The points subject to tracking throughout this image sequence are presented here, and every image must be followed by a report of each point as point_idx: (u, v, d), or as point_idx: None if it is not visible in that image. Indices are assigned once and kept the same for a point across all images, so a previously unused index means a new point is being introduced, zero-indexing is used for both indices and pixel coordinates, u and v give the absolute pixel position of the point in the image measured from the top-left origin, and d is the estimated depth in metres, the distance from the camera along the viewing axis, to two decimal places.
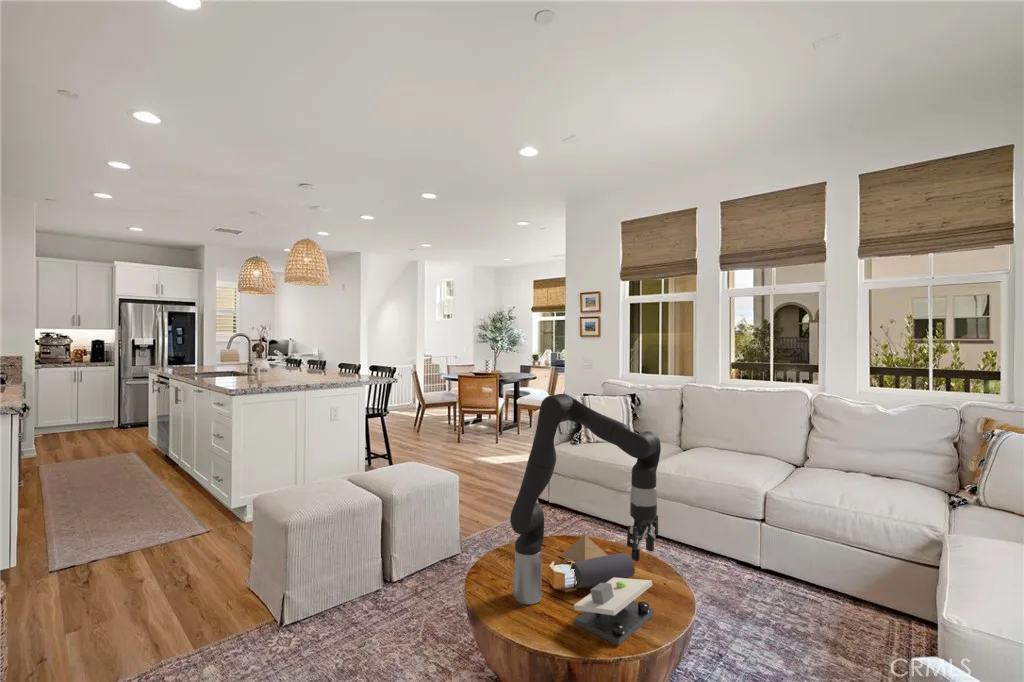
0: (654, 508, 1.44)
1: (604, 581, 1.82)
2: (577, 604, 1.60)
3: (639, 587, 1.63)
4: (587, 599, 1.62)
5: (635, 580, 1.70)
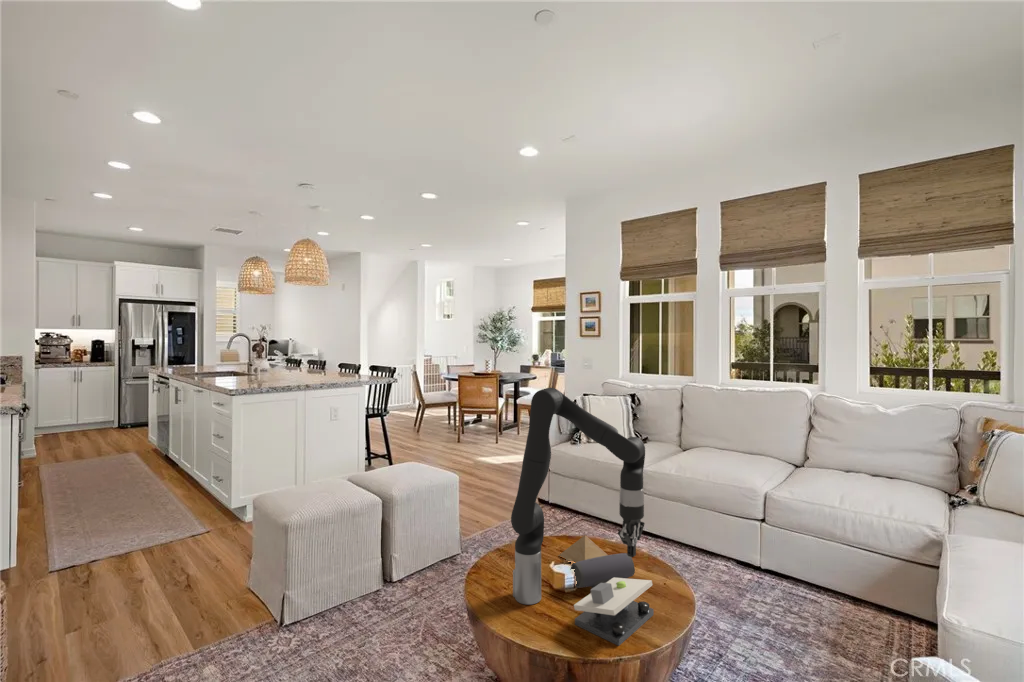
0: (641, 508, 1.56)
1: (604, 581, 1.82)
2: (577, 604, 1.60)
3: (639, 587, 1.63)
4: (587, 599, 1.62)
5: (635, 580, 1.70)
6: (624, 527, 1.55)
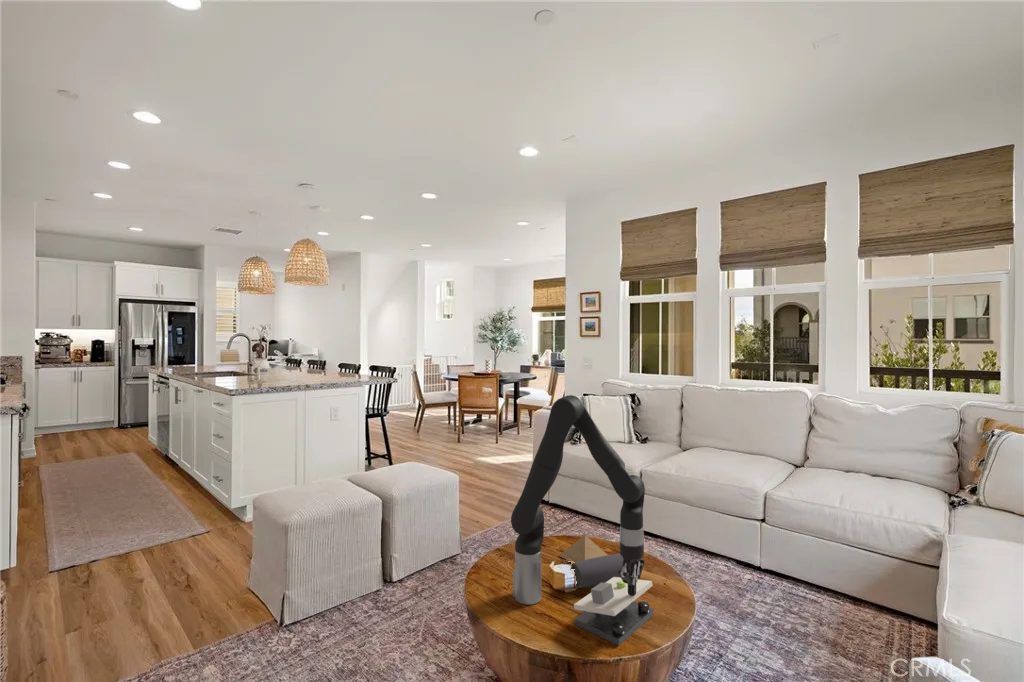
0: (641, 547, 1.56)
1: (604, 581, 1.82)
2: (577, 604, 1.60)
3: (639, 588, 1.63)
4: (587, 599, 1.62)
5: None
6: (624, 566, 1.56)
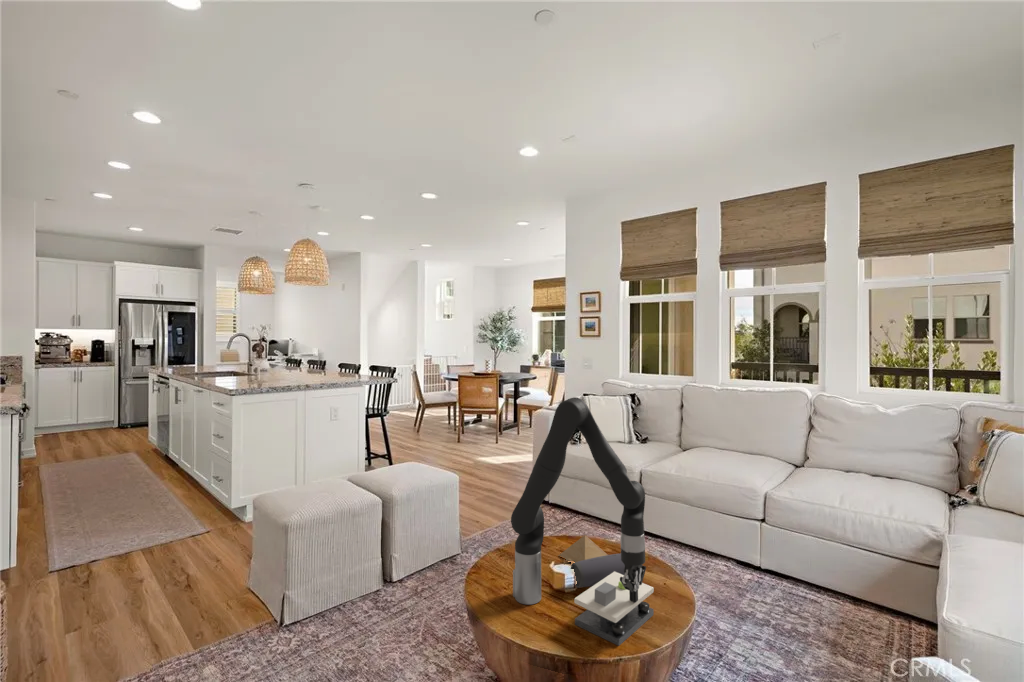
0: (642, 554, 1.56)
1: None
2: (578, 598, 1.59)
3: (641, 594, 1.63)
4: (588, 594, 1.62)
5: None
6: (626, 573, 1.55)
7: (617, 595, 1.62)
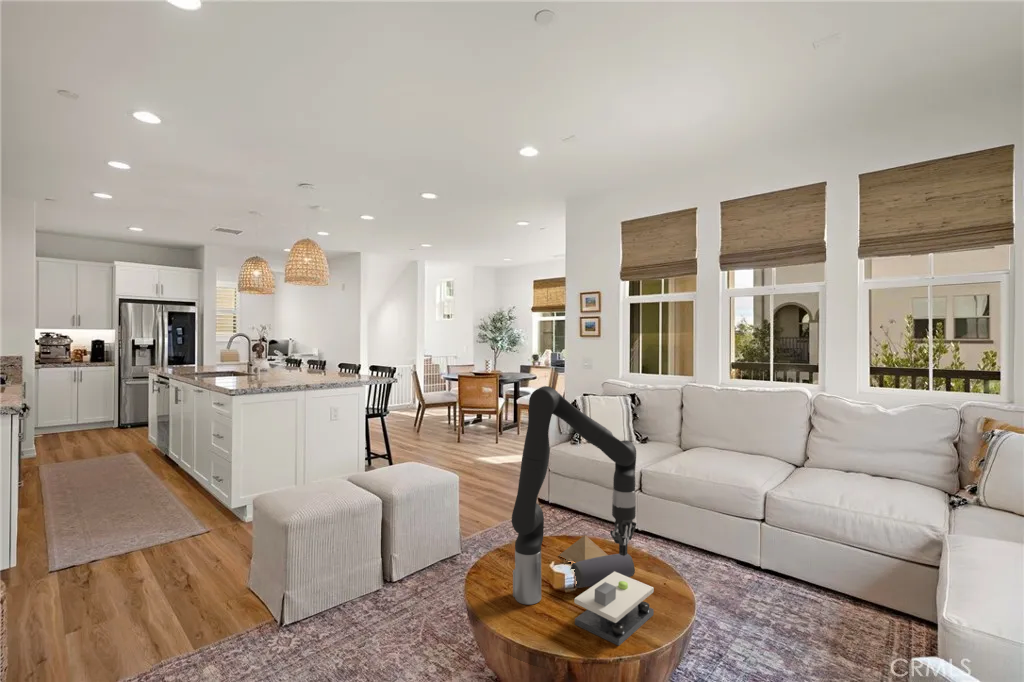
0: (633, 509, 1.62)
1: None
2: (578, 598, 1.59)
3: (641, 594, 1.63)
4: (588, 594, 1.62)
5: (637, 582, 1.70)
6: (616, 527, 1.62)
7: (617, 595, 1.62)
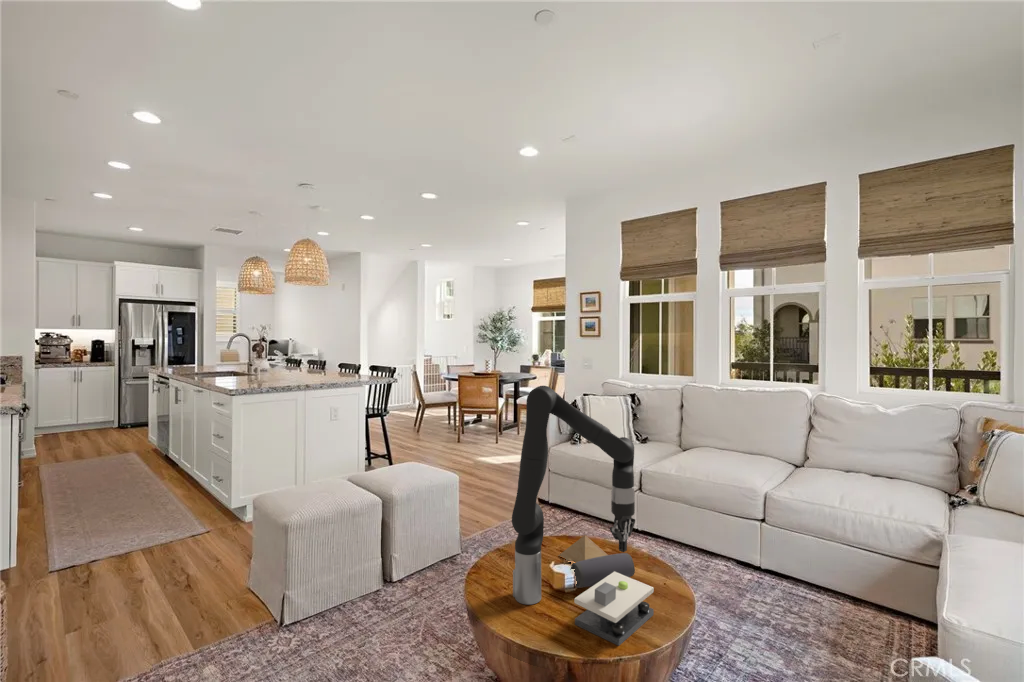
0: (632, 505, 1.63)
1: None
2: (578, 598, 1.59)
3: (641, 594, 1.63)
4: (588, 594, 1.62)
5: (637, 582, 1.70)
6: (615, 523, 1.63)
7: (617, 595, 1.62)
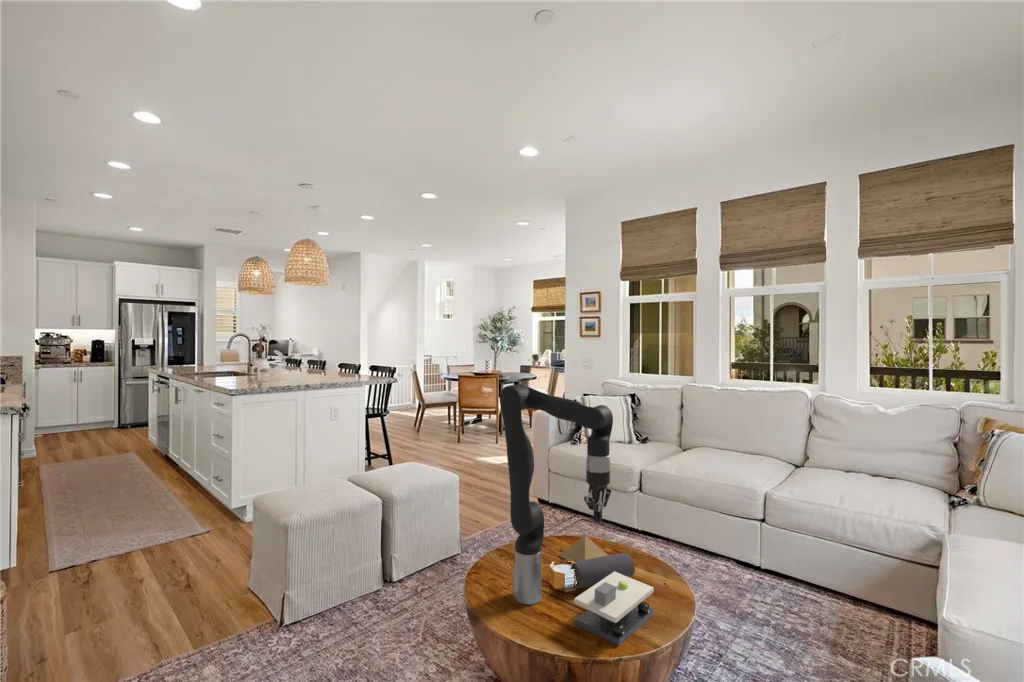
0: (607, 474, 1.58)
1: None
2: (578, 598, 1.59)
3: (641, 594, 1.63)
4: (588, 594, 1.62)
5: (637, 582, 1.70)
6: (590, 493, 1.58)
7: (617, 595, 1.62)
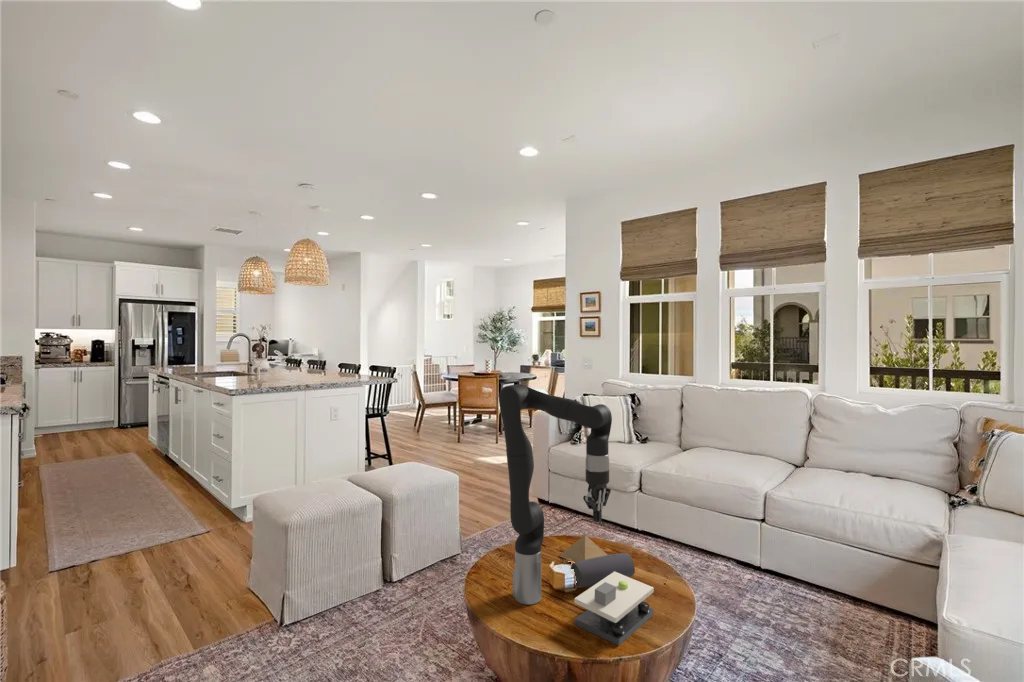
0: (606, 473, 1.58)
1: None
2: (578, 598, 1.59)
3: (641, 594, 1.63)
4: (588, 594, 1.62)
5: (637, 582, 1.70)
6: (589, 492, 1.58)
7: (617, 595, 1.62)
